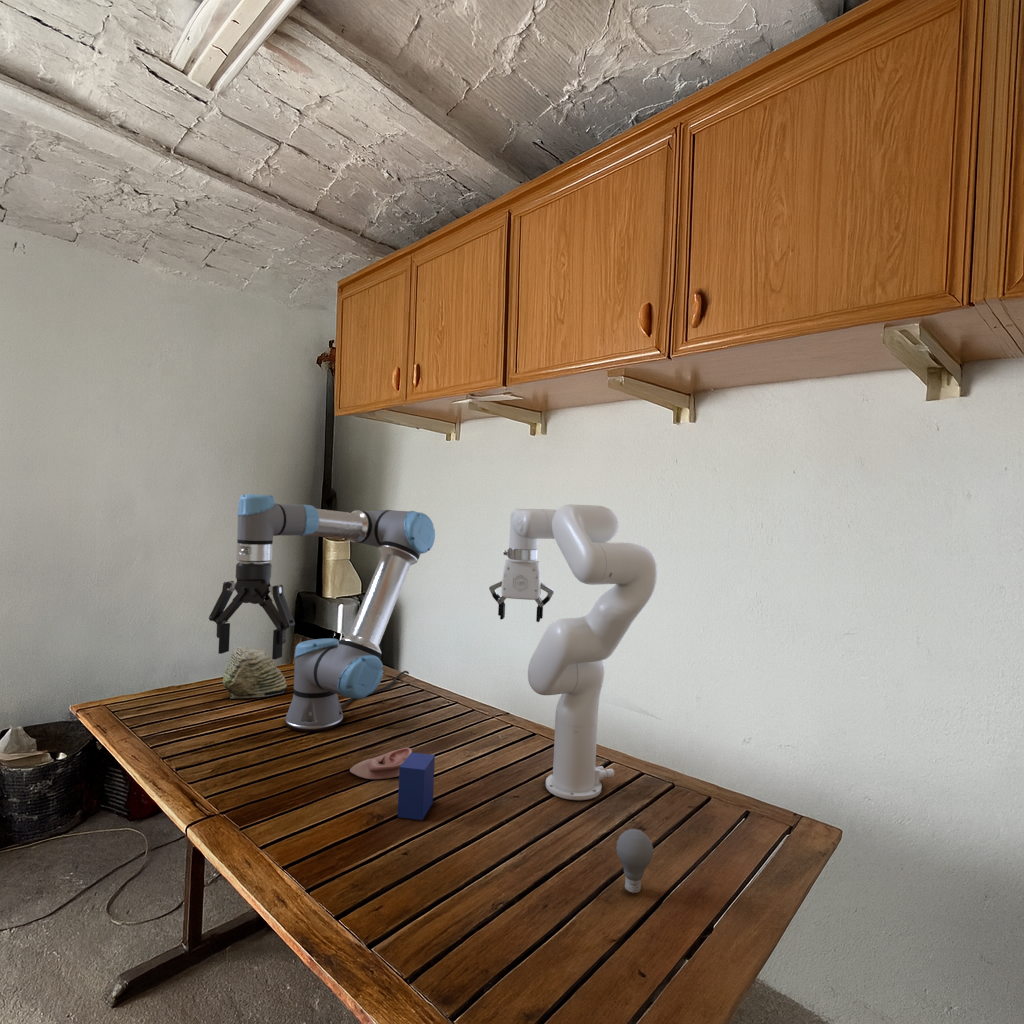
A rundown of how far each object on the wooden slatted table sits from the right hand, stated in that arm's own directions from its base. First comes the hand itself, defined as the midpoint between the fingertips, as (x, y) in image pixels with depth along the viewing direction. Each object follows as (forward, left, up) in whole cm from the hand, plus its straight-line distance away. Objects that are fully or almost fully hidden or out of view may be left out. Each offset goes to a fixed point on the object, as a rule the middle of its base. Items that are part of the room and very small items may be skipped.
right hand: (520, 619), depth 168 cm
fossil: (+65, -57, -33) cm, 93 cm away
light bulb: (+5, +66, -33) cm, 73 cm away
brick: (+33, +28, -33) cm, 55 cm away
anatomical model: (+37, +8, -33) cm, 50 cm away
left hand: (+66, 0, -6) cm, 66 cm away
